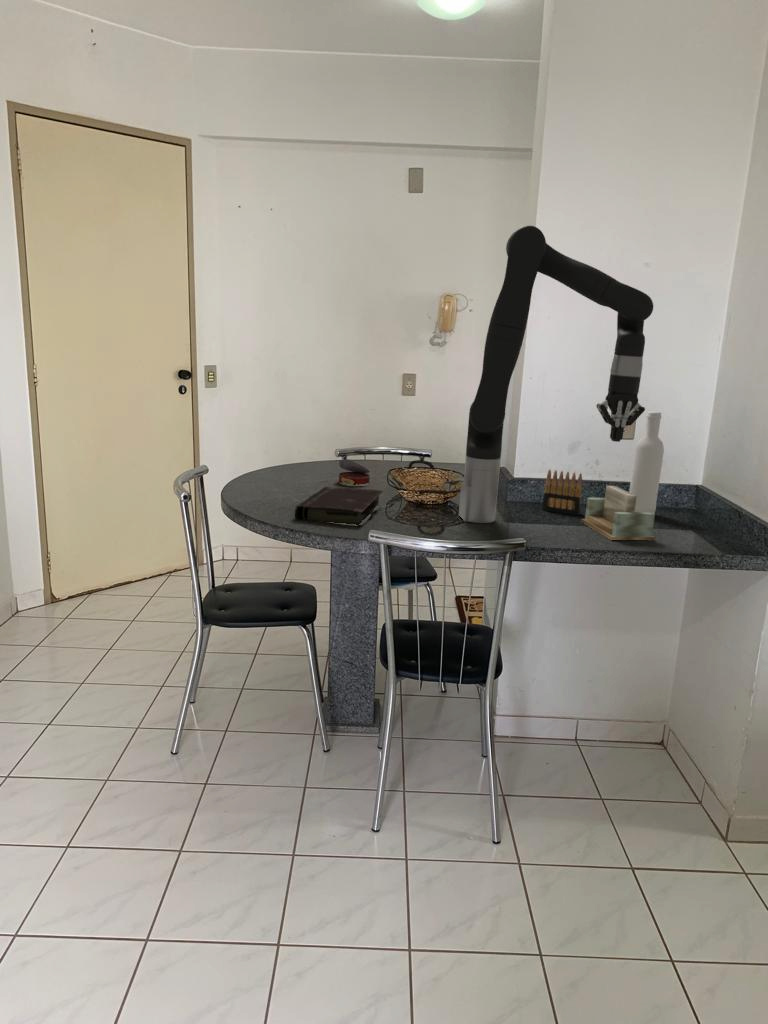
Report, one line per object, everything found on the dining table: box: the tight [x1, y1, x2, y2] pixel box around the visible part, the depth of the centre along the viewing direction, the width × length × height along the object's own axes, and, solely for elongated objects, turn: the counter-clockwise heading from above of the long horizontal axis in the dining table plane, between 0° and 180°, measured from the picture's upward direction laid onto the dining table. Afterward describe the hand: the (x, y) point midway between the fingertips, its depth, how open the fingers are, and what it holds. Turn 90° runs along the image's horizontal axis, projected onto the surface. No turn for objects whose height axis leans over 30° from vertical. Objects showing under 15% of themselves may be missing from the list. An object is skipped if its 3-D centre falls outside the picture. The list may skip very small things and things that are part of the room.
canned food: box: [338, 458, 371, 485], centre depth 241 cm, size 11×10×10 cm
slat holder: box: [580, 497, 656, 541], centre depth 200 cm, size 12×18×7 cm, turn 10°
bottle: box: [628, 410, 665, 515], centre depth 218 cm, size 8×8×30 cm
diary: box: [294, 486, 384, 527], centre depth 203 cm, size 19×25×5 cm
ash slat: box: [602, 485, 637, 524], centre depth 199 cm, size 2×12×10 cm, turn 10°
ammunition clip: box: [541, 468, 583, 516], centre depth 218 cm, size 11×2×12 cm, turn 67°
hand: (615, 441), depth 197 cm, fingers closed
